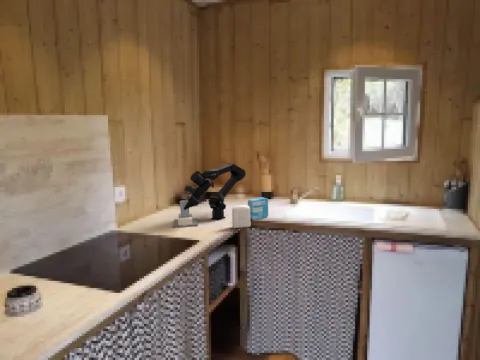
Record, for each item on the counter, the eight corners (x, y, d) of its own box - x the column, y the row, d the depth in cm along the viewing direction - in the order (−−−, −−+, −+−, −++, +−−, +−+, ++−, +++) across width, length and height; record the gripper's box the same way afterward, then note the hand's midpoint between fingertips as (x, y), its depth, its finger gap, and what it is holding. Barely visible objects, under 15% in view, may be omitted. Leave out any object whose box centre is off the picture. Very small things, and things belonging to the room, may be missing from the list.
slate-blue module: (189, 218, 228) (188, 200, 226) (189, 220, 223) (188, 201, 222) (181, 218, 227) (180, 200, 225) (181, 220, 223) (179, 202, 221)
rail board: (197, 219, 234) (196, 212, 233) (197, 226, 219) (197, 218, 219) (174, 220, 232) (173, 213, 231) (173, 227, 217) (172, 220, 217)
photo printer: (249, 225, 218) (249, 203, 216) (251, 227, 213) (250, 205, 212) (231, 226, 216) (231, 205, 214) (233, 228, 212) (232, 206, 210)
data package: (252, 220, 227) (251, 200, 225) (248, 219, 231) (247, 199, 229) (268, 217, 233) (268, 197, 231) (264, 215, 237) (263, 196, 235)
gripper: (191, 177, 231) (174, 196, 232) (191, 182, 213) (173, 203, 213) (205, 189, 234) (188, 208, 234) (206, 195, 215) (188, 215, 216)
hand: (184, 208), depth 224 cm, fingers closed on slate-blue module, 4 cm apart
